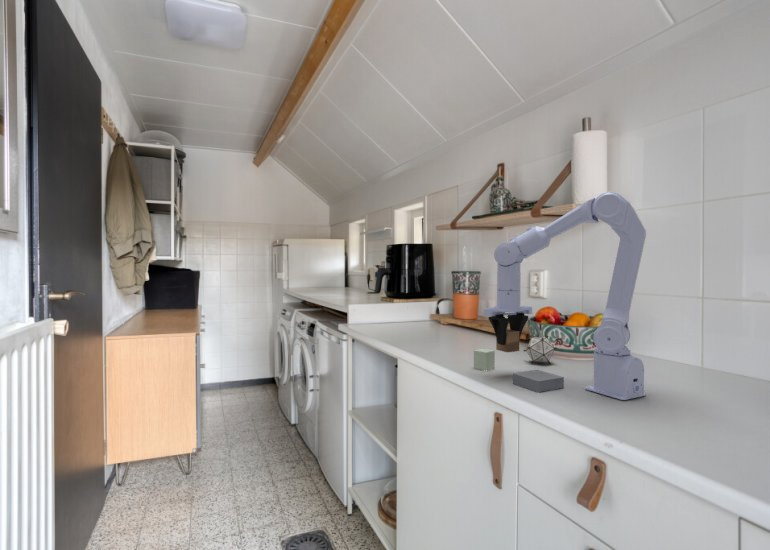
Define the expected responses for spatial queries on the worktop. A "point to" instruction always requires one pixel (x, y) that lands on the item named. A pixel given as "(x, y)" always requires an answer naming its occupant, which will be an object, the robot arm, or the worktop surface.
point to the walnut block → (509, 342)
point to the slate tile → (538, 380)
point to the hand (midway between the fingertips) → (508, 343)
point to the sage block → (484, 359)
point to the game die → (540, 349)
